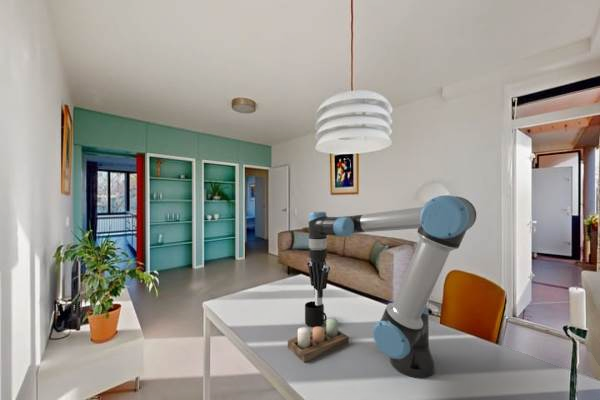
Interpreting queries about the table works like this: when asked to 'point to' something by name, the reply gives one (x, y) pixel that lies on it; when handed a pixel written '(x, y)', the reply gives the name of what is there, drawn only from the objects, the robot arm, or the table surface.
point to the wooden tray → (318, 346)
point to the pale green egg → (332, 327)
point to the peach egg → (318, 334)
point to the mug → (314, 314)
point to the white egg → (303, 338)
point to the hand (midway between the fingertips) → (318, 304)
